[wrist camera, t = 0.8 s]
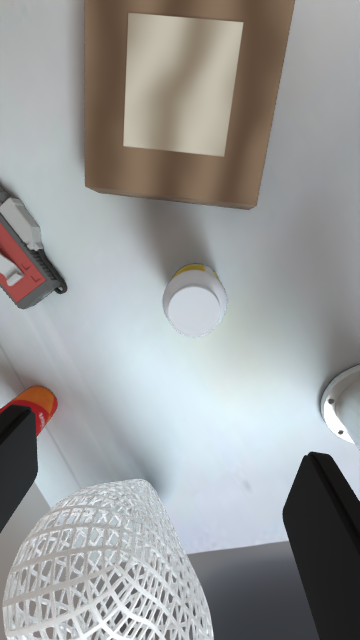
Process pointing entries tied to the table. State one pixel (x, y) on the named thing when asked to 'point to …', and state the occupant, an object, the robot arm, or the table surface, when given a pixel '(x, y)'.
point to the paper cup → (37, 404)
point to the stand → (182, 97)
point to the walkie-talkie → (24, 256)
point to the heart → (23, 636)
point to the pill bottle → (194, 300)
